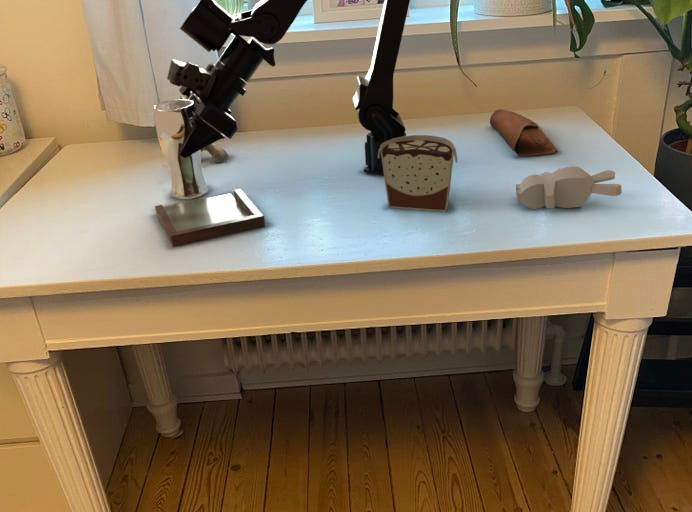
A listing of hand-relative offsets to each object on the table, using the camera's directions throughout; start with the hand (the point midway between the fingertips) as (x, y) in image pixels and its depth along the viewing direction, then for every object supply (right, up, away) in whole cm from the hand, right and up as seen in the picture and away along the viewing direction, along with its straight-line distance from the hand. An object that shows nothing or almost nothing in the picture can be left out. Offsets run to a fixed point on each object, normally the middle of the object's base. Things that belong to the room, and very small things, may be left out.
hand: (178, 150), depth 126 cm
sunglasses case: (+61, +6, +16) cm, 64 cm away
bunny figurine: (+62, -11, -9) cm, 64 cm away
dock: (+6, -13, -6) cm, 16 cm away
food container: (+40, -10, -5) cm, 42 cm away
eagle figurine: (+1, +4, +19) cm, 20 cm away
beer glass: (+1, -6, +4) cm, 8 cm away
